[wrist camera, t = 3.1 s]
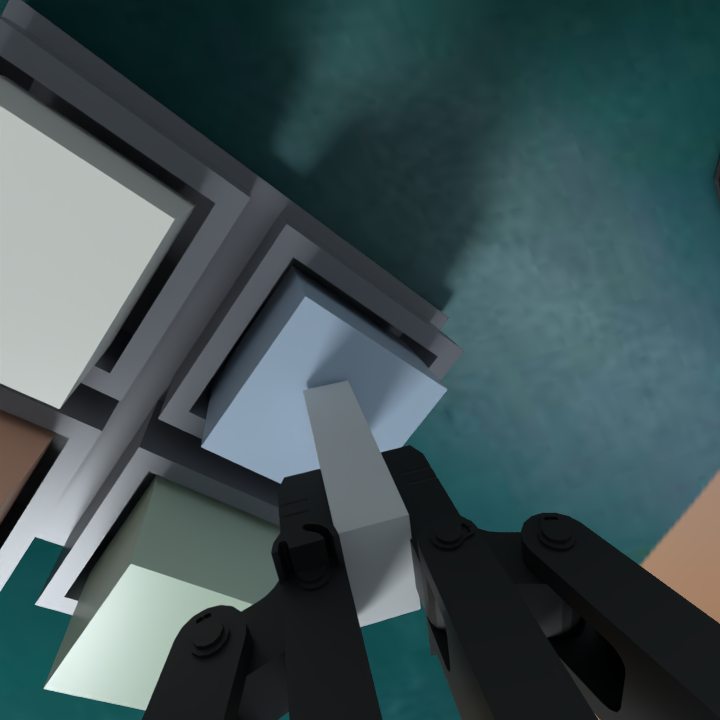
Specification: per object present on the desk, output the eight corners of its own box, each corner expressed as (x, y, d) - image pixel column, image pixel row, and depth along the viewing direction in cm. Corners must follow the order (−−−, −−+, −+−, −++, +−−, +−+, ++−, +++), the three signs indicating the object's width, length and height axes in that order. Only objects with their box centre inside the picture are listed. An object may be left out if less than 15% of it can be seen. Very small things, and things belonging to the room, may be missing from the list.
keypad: (-189, 443, 20) (-319, 524, 15) (26, 3, 16) (-63, -63, 12) (231, 586, 27) (227, 669, 23) (441, 311, 24) (486, 345, 19)
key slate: (212, 383, 20) (200, 447, 15) (292, 265, 19) (305, 296, 14) (327, 443, 22) (347, 514, 17) (404, 341, 21) (447, 389, 16)
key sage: (89, 573, 20) (43, 688, 16) (159, 470, 19) (130, 563, 15) (213, 612, 23) (204, 722, 18) (282, 522, 22) (290, 616, 17)
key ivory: (-78, 249, 15) (-225, 285, 10) (7, 76, 14) (-116, 31, 9) (110, 345, 17) (59, 409, 12) (196, 204, 16) (175, 219, 11)
